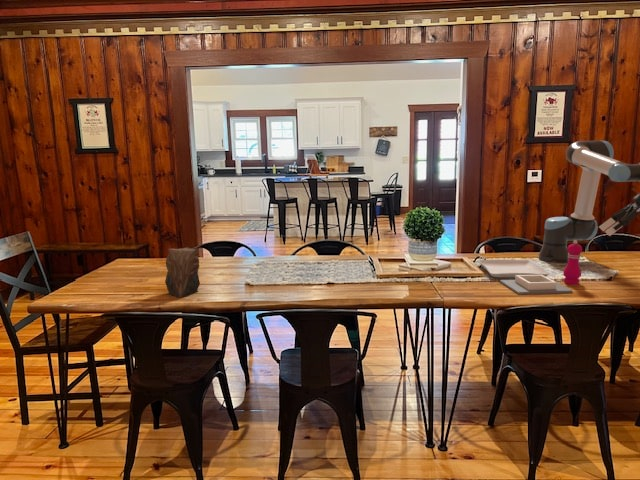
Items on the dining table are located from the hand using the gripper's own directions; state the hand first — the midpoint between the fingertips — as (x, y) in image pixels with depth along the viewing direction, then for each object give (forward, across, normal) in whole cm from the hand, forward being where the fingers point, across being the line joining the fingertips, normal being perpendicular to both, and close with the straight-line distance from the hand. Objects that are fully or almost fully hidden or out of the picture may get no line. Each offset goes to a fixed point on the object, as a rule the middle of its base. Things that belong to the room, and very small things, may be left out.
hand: (603, 231), depth 207 cm
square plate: (+43, +7, +9) cm, 45 cm away
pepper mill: (+25, -3, -9) cm, 27 cm away
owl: (+140, -77, +106) cm, 191 cm away
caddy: (+37, -16, +3) cm, 40 cm away
